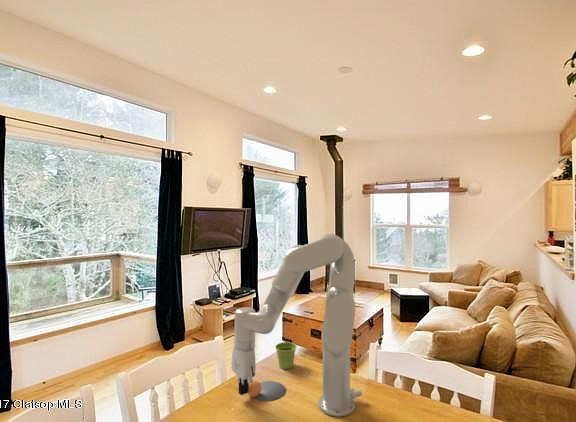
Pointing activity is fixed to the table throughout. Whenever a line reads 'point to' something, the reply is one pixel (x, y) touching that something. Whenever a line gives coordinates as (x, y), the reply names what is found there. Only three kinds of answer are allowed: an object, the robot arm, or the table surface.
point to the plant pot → (285, 354)
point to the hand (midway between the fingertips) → (243, 393)
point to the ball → (254, 388)
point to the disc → (271, 391)
